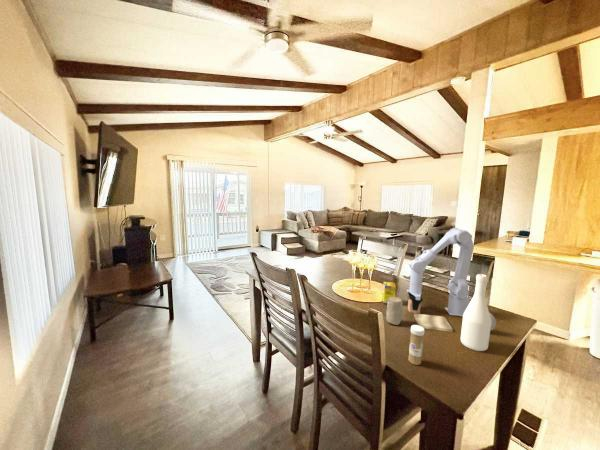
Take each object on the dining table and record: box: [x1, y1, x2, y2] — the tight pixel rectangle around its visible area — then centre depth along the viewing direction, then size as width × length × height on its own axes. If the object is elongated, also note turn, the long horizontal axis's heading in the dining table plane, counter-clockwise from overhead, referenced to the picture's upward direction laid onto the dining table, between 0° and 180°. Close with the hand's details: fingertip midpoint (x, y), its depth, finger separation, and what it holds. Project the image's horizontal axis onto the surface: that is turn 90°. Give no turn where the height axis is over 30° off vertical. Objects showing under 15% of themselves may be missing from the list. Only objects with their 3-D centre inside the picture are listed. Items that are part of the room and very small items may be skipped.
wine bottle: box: [459, 273, 491, 352], centre depth 105 cm, size 10×10×30 cm
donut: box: [489, 312, 497, 332], centre depth 118 cm, size 10×4×10 cm, turn 63°
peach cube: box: [407, 298, 422, 314], centre depth 137 cm, size 5×5×5 cm
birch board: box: [413, 313, 454, 333], centre depth 124 cm, size 14×12×1 cm
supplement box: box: [382, 281, 397, 305], centre depth 146 cm, size 6×6×11 cm
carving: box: [385, 296, 404, 326], centre depth 124 cm, size 6×8×12 cm
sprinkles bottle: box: [407, 324, 425, 366], centre depth 96 cm, size 5×5×14 cm
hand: (413, 307), depth 137 cm, fingers closed on peach cube, 5 cm apart
